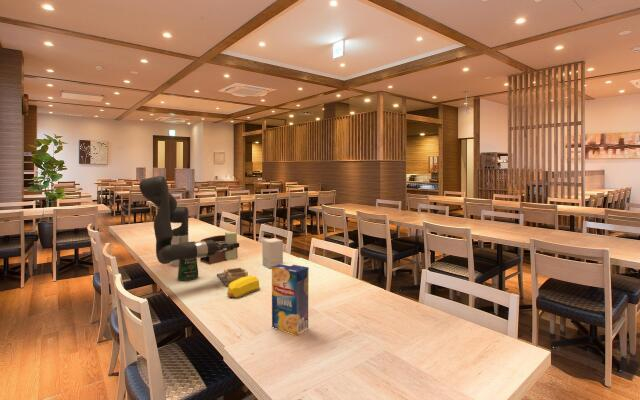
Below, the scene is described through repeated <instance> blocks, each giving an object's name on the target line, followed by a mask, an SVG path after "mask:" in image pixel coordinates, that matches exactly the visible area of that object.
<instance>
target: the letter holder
mask: <svg viewBox="0 0 640 400" xmlns="http://www.w3.org/2000/svg"><path fill="white" fill-rule="evenodd" d="M206 240H213V241H214V242H216V241H225V234H223V235H222V234H221V235H213V236H209V237H205V238H202V239H201V240H200V241H206ZM238 256H239V255H238V254H237V259H239V258H238ZM199 260H200V262H201V263H204V264H207V265H214V264H217V263H222V262H226V261H228V260H227V259H226V255H225V252H223V251H220V252H218V251H216V253H215V255H213V256H208V257H202V258H200V259H199Z"/></svg>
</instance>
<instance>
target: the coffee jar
mask: <svg viewBox="0 0 640 400" xmlns="http://www.w3.org/2000/svg"><path fill="white" fill-rule="evenodd" d="M195 242H196V241H189V242H183V243H179V244H189V243H195ZM177 278H178V280H179V281H191V280H197V279H198V278H199V265H198V258H193V259H179V266H178V269H177Z"/></svg>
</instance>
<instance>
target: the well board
mask: <svg viewBox="0 0 640 400" xmlns="http://www.w3.org/2000/svg"><path fill="white" fill-rule="evenodd" d="M223 271H224V272H221V273H217V274H216V277H217V278H218V280H219V281H220V282H221V283H222V284H223V286H224V287H227V288H228V286H229V284H230V283H231V282H233V281H235V280H237V279H239V278H242V277H246V276H249V272H248V271H247V270H246V269H245V268H244V267H242V266H241V267H234V268H227V269H224V270H223Z"/></svg>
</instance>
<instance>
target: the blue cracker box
mask: <svg viewBox="0 0 640 400" xmlns="http://www.w3.org/2000/svg"><path fill="white" fill-rule="evenodd" d="M309 269H310V267H308V266H304V265H298V264H292V263H289V262H283V263H282V264H279V265H276V266H273V267H272V268H271V328H272V327H274V328H277V329H280V330H283V331H286V332H289V333H292V334H294V335H293V336H295V335H297V334H299V333H300V334H301V332H302V331H303V332H305V331H306V330H308V329H309V274H310V273H309V272H310V271H309ZM274 328H273V329H274ZM307 328H308V329H307ZM277 329H276V330H277ZM305 329H306V330H305ZM280 330H279V331H280ZM304 330H305V331H304ZM283 331H282V332H283ZM286 332H285V333H286ZM303 332H302V333H303ZM289 333H288V334H289ZM292 334H291V335H292ZM300 334H299V335H300ZM297 336H298V335H297Z"/></svg>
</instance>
